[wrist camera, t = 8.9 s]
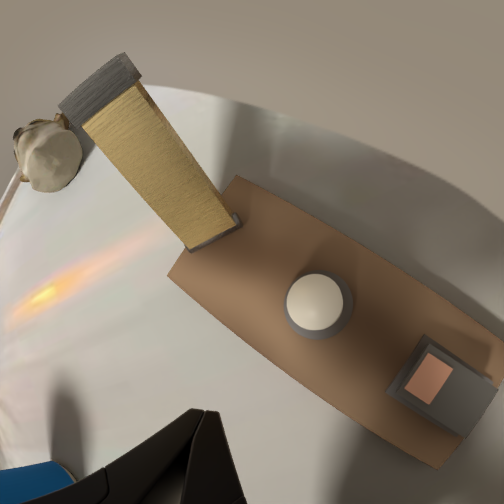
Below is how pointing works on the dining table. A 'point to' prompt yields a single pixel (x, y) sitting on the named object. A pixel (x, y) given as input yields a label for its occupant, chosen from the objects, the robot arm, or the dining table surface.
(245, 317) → the switch panel
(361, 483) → the dining table surface
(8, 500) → the beverage can
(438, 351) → the rocker switch
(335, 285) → the push button
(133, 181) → the tan capped bar
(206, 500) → the robot arm
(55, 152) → the ceramic sculpture
